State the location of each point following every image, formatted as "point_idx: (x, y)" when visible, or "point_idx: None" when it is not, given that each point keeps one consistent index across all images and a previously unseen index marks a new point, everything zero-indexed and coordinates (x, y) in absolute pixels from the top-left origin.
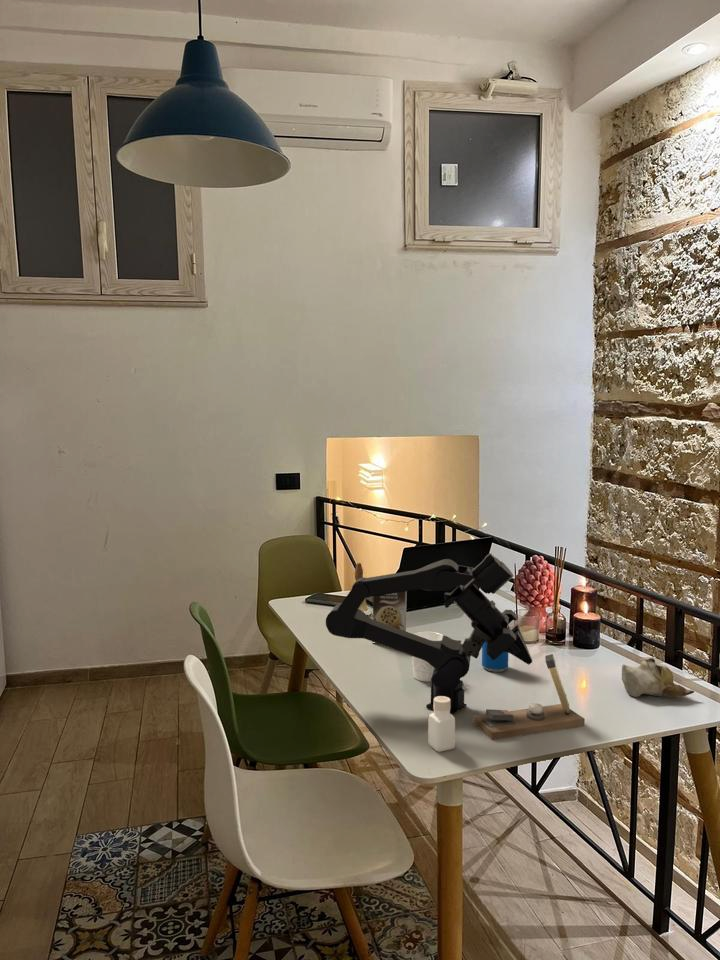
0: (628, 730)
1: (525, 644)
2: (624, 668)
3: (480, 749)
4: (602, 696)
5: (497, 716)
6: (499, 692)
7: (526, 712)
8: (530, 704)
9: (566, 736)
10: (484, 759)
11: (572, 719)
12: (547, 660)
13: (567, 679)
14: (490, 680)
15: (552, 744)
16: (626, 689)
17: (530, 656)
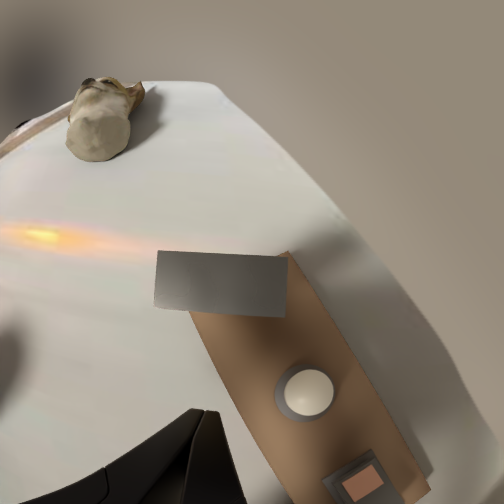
0: (288, 176)
1: (130, 479)
2: (88, 122)
3: (462, 492)
4: (104, 203)
5: (401, 498)
6: (81, 460)
7: (274, 421)
8: (300, 411)
9: (364, 310)
10: (495, 468)
11: (302, 283)
12: (270, 301)
13: (18, 264)
14: (19, 454)
15: (416, 345)
16: (102, 155)
17: (193, 425)
